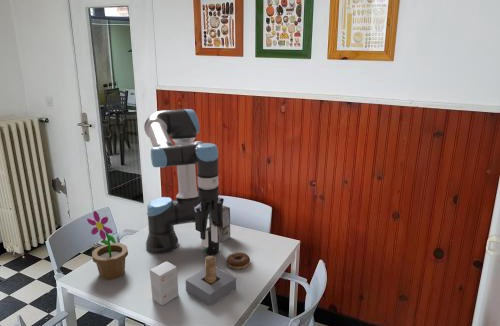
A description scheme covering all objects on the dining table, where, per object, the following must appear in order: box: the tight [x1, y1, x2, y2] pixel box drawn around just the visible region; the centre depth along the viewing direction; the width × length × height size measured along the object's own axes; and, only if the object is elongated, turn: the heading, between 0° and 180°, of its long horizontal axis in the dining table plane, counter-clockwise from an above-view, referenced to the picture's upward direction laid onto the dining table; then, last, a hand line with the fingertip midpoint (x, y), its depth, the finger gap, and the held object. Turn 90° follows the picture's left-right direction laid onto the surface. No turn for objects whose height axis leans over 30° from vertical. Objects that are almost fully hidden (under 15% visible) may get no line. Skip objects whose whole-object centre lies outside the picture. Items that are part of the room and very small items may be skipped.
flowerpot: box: [86, 210, 129, 280], centre depth 159 cm, size 14×14×30 cm
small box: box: [149, 261, 179, 307], centre depth 146 cm, size 8×6×13 cm
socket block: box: [185, 267, 237, 307], centre depth 152 cm, size 14×14×5 cm
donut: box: [225, 251, 251, 270], centre depth 170 cm, size 11×11×4 cm
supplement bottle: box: [203, 226, 220, 256], centre depth 178 cm, size 7×7×12 cm
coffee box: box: [208, 205, 231, 242], centre depth 192 cm, size 9×6×16 cm
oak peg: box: [204, 255, 217, 285], centre depth 150 cm, size 4×4×14 cm
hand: (209, 243), depth 146 cm, fingers open, 4 cm apart
